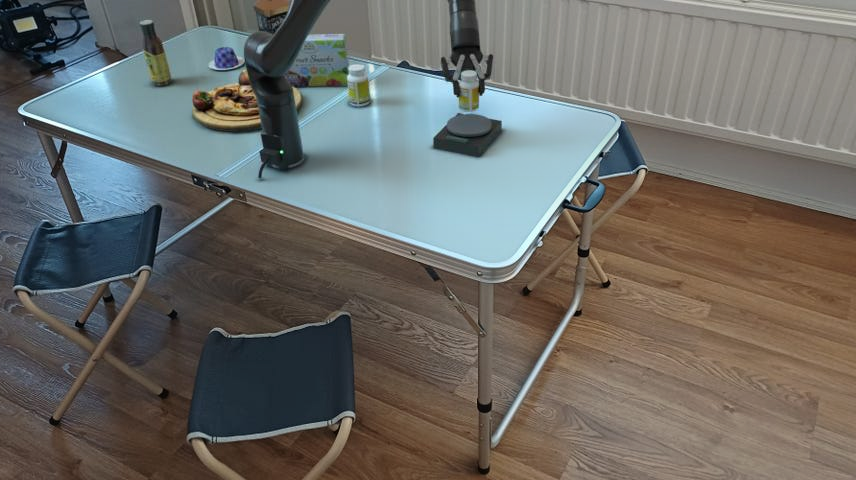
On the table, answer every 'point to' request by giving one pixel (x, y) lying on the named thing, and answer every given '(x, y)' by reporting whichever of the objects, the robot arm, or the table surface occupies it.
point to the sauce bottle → (155, 55)
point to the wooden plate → (231, 106)
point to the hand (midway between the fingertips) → (469, 95)
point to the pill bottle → (358, 86)
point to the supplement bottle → (468, 91)
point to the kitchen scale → (467, 134)
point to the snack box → (321, 62)
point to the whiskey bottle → (270, 14)
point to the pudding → (225, 59)
